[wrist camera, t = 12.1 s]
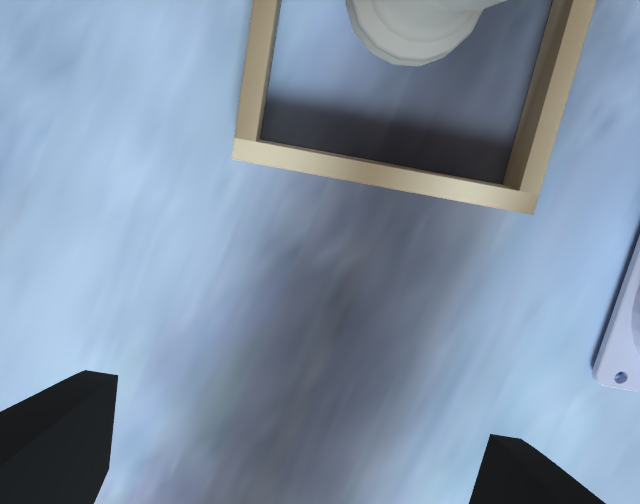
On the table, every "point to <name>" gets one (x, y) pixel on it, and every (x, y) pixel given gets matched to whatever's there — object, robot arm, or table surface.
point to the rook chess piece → (414, 27)
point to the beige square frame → (514, 194)
